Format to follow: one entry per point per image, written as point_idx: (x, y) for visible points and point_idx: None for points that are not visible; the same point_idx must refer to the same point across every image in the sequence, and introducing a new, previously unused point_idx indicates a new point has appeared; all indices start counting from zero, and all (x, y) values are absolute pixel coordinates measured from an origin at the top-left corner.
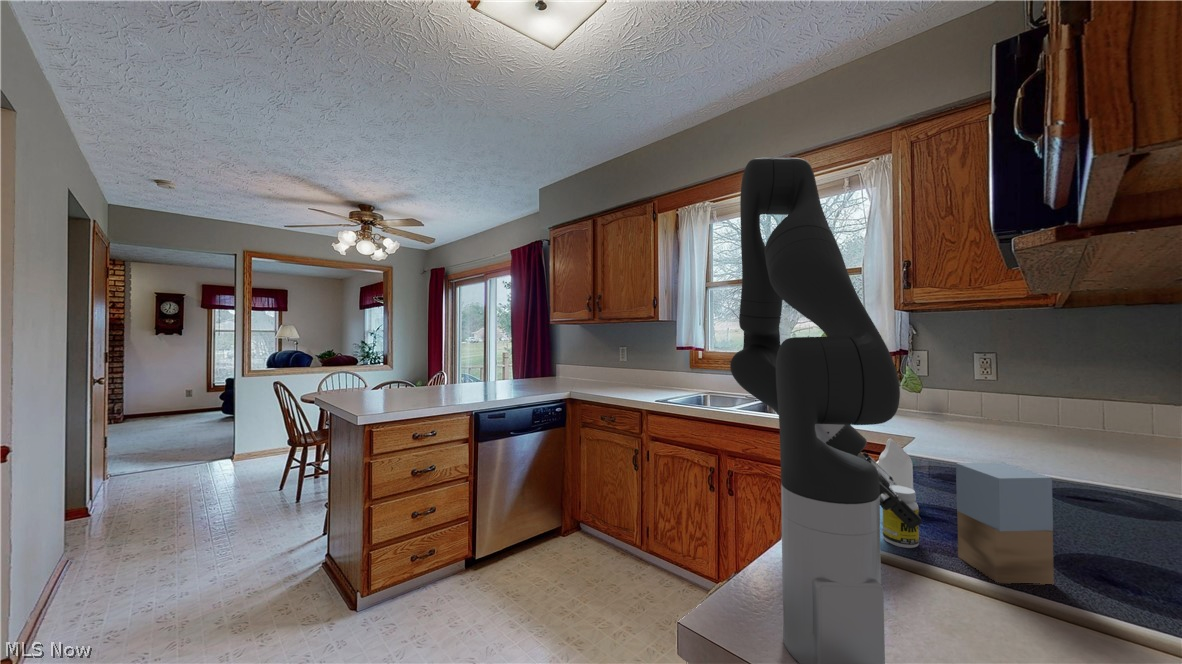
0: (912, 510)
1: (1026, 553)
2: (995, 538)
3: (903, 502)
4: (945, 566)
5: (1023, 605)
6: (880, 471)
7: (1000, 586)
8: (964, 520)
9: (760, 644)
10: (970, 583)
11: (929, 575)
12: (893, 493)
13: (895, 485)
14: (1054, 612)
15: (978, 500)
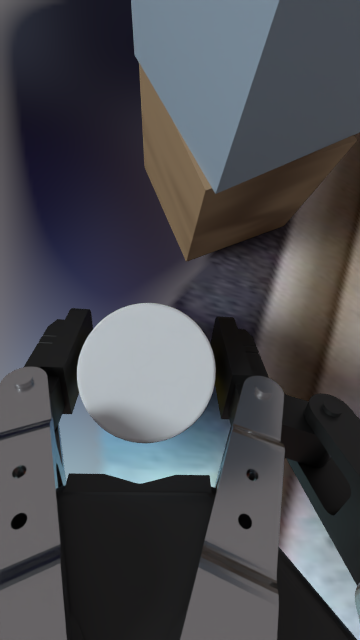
0: (232, 339)
1: None
2: (339, 160)
3: (250, 370)
4: (253, 299)
5: (352, 212)
6: (58, 498)
7: (295, 224)
8: (231, 195)
9: None
10: (311, 271)
11: (317, 340)
12: (280, 418)
13: (82, 385)
14: (350, 176)
15: (340, 89)
